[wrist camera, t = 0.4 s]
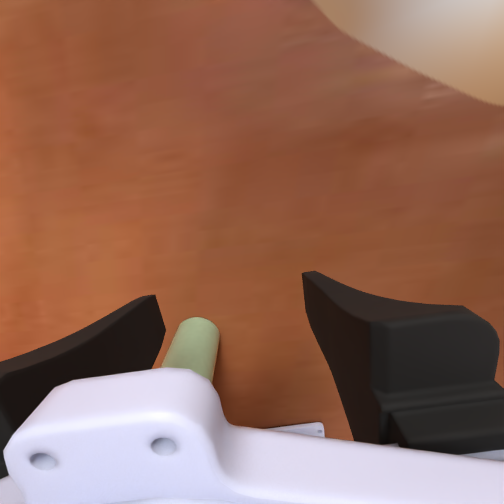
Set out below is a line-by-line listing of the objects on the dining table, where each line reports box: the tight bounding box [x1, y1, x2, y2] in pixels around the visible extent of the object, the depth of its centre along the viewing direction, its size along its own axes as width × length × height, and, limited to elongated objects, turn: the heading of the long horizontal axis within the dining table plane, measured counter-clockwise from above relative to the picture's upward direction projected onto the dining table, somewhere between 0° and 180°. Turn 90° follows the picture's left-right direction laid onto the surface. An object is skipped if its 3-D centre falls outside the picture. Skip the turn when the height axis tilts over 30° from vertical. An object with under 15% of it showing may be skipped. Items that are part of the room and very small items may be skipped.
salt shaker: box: [160, 317, 220, 384], centre depth 21 cm, size 4×4×8 cm
